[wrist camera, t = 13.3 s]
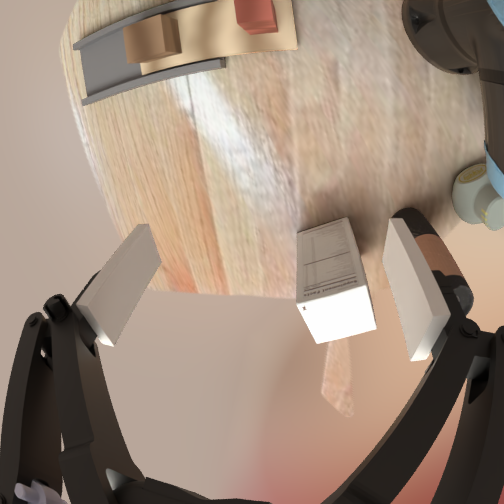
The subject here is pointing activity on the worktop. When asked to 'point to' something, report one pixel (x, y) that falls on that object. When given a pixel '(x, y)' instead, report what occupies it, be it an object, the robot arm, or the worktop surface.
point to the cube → (152, 39)
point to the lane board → (115, 61)
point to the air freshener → (478, 198)
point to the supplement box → (332, 283)
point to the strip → (230, 31)
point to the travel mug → (437, 254)
